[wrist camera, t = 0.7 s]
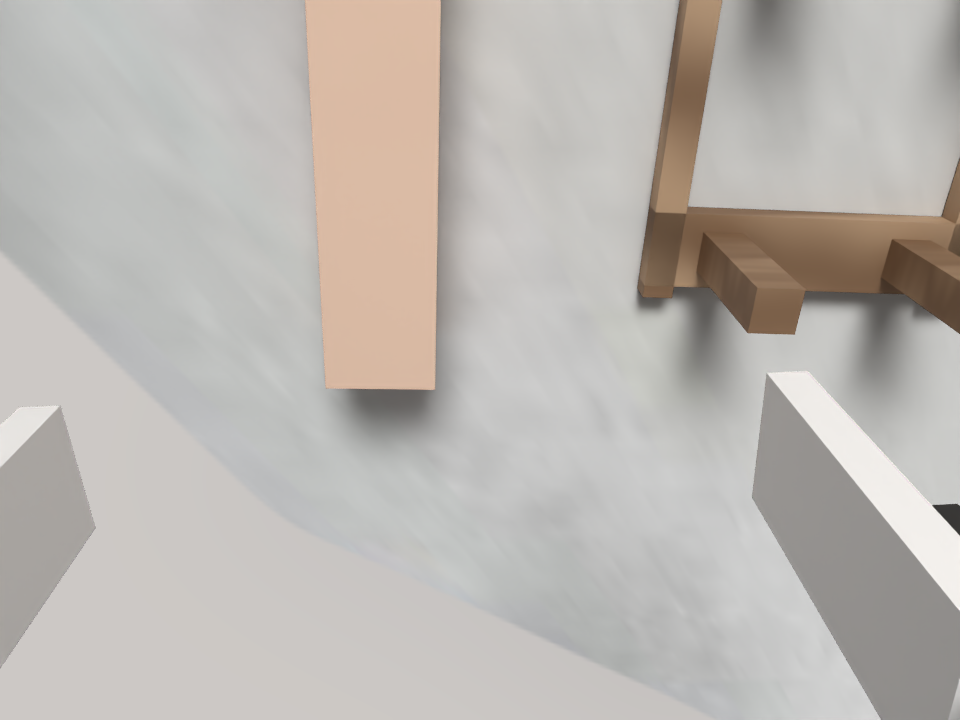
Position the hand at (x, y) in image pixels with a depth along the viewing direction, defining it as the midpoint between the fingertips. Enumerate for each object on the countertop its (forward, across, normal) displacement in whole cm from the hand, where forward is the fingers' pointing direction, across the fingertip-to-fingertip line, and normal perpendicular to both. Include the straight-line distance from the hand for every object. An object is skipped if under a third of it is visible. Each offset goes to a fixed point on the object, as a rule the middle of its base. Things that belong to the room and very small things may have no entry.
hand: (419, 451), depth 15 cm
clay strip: (+18, -2, +4) cm, 19 cm away
